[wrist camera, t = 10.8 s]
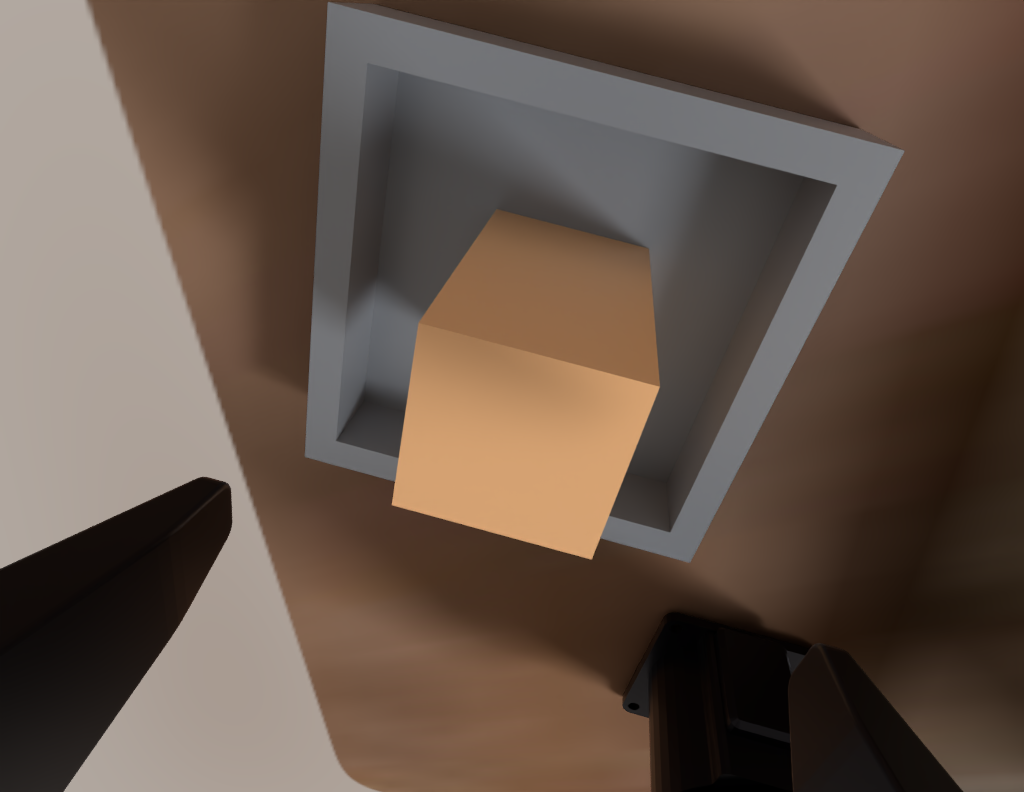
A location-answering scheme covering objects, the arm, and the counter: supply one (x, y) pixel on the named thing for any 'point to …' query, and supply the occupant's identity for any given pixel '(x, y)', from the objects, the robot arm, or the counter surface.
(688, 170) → the block holder
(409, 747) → the counter surface
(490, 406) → the plain tan block
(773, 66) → the counter surface
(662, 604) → the counter surface
